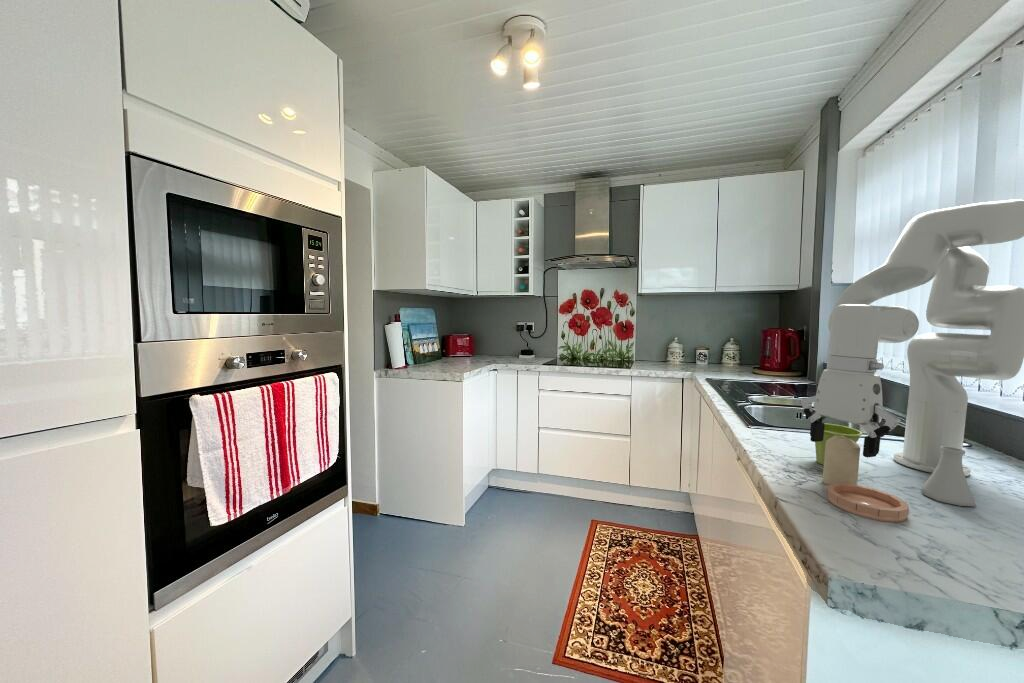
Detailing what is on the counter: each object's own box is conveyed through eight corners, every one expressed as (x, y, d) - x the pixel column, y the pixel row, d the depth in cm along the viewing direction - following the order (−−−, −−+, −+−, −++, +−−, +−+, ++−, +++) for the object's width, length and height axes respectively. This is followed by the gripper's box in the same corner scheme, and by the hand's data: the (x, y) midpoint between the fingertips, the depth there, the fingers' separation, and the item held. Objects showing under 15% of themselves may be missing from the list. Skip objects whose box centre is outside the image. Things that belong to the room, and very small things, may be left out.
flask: (958, 494, 80) (963, 445, 80) (986, 510, 74) (992, 457, 73) (912, 488, 83) (916, 440, 82) (935, 503, 76) (940, 451, 75)
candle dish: (849, 490, 81) (850, 480, 81) (921, 516, 71) (922, 505, 71) (813, 497, 77) (814, 487, 77) (883, 526, 67) (884, 514, 67)
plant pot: (869, 470, 92) (872, 433, 91) (839, 474, 89) (842, 435, 89) (827, 456, 101) (829, 422, 100) (798, 459, 98) (801, 424, 98)
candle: (863, 491, 80) (867, 442, 80) (831, 488, 81) (835, 439, 81) (846, 480, 86) (850, 434, 85) (817, 477, 87) (820, 432, 86)
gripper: (916, 372, 75) (905, 462, 76) (817, 360, 91) (809, 435, 92) (892, 371, 73) (881, 465, 74) (794, 360, 89) (787, 437, 90)
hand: (841, 448), depth 83 cm, fingers open, 9 cm apart
